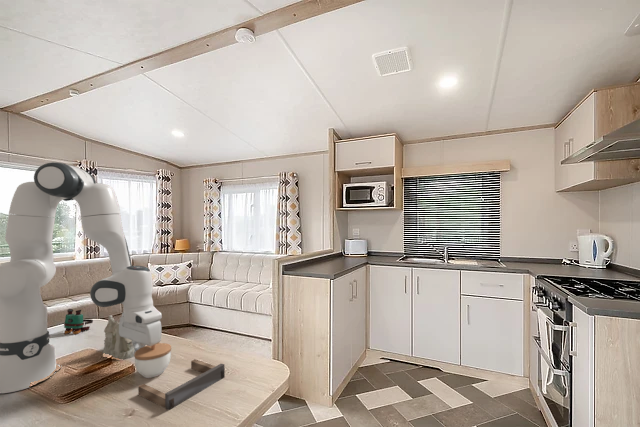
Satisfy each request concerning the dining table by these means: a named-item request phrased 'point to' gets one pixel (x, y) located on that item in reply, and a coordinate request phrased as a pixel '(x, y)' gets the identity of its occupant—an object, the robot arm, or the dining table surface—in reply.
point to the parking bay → (185, 386)
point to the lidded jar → (152, 359)
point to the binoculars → (75, 322)
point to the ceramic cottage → (117, 342)
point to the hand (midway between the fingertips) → (139, 353)
